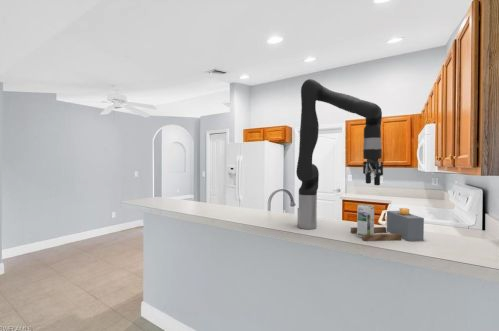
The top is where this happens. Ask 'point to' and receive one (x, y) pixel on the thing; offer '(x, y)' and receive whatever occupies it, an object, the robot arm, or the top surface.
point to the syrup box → (365, 219)
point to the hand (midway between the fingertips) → (372, 184)
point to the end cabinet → (406, 226)
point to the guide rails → (378, 235)
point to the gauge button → (403, 211)
